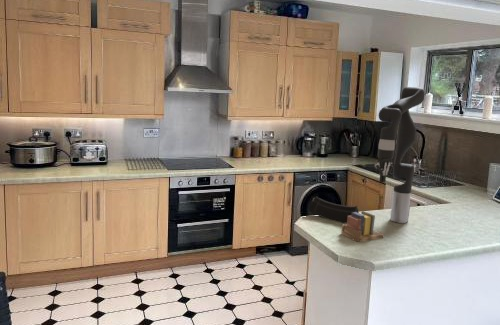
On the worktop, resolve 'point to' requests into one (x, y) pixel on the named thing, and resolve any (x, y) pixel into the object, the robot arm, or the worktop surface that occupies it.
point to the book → (366, 224)
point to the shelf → (359, 234)
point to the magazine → (331, 210)
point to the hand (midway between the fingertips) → (382, 182)
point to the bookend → (371, 221)
